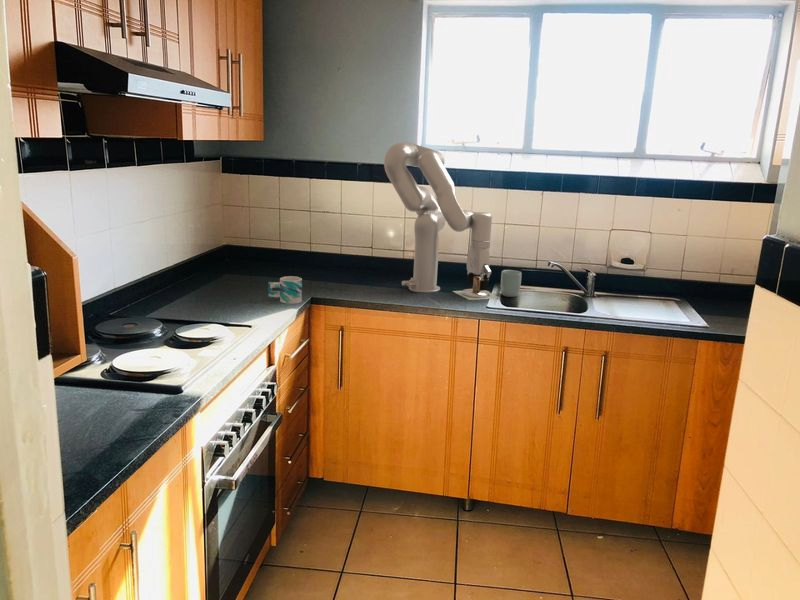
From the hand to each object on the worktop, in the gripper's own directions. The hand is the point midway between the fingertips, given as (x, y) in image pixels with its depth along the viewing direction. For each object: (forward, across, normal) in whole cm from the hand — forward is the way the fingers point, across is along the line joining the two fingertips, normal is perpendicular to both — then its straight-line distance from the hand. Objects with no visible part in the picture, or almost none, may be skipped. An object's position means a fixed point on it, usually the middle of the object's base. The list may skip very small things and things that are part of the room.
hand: (477, 287), depth 260 cm
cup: (+4, +4, +13) cm, 14 cm away
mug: (+4, -11, -74) cm, 75 cm away
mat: (+4, 0, 0) cm, 4 cm away
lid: (+3, 0, 0) cm, 3 cm away
